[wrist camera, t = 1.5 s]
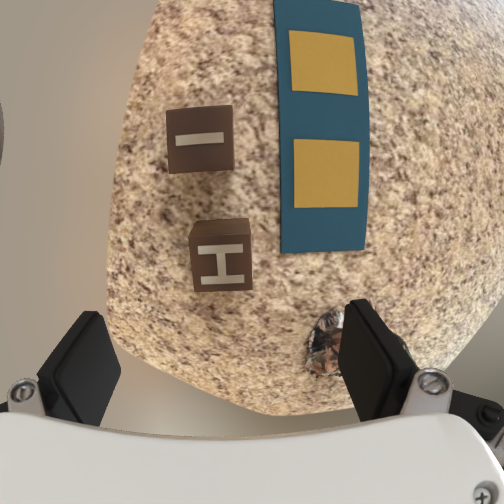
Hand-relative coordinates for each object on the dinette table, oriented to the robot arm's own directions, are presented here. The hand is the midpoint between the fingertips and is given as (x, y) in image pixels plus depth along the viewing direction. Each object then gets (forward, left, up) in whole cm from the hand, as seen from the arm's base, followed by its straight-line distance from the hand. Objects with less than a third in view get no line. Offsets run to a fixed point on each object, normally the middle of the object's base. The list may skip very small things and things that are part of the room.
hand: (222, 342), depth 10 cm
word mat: (+8, +10, -16) cm, 20 cm away
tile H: (-1, -1, -16) cm, 16 cm away
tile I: (-2, +8, -16) cm, 18 cm away
